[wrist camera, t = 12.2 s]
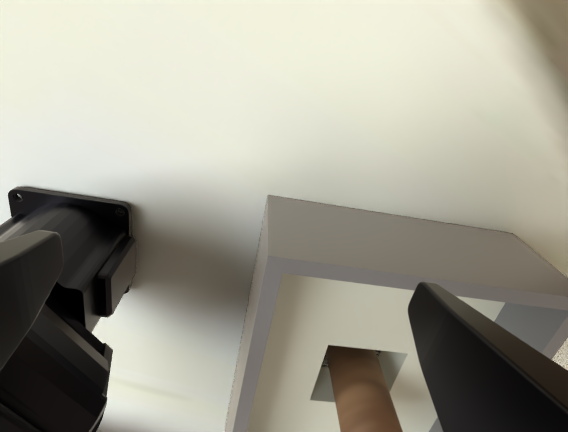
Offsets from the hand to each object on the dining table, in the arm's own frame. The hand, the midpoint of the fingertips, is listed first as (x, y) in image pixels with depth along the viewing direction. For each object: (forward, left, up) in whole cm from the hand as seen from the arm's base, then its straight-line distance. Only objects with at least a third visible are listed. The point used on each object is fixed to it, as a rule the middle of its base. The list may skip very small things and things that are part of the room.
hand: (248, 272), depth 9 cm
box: (+9, -14, -12) cm, 21 cm away
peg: (+9, -14, -12) cm, 21 cm away
